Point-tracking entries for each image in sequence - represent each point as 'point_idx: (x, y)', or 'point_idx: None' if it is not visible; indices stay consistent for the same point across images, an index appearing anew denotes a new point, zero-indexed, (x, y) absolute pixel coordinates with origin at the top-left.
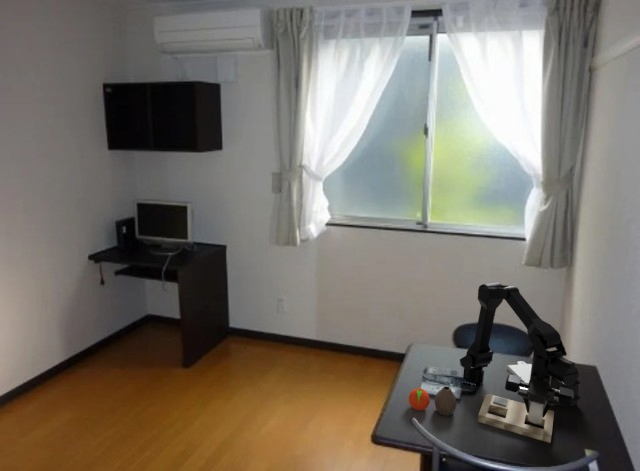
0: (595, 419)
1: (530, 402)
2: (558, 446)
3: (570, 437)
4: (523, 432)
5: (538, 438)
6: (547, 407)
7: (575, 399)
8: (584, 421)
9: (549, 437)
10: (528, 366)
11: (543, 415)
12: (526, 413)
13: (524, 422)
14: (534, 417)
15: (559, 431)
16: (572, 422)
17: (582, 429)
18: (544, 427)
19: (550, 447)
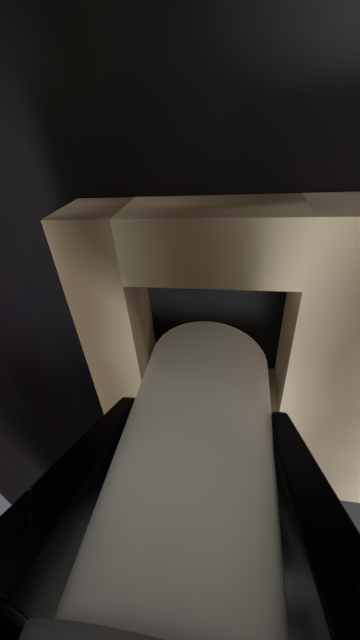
0: (5, 459)
1: (280, 589)
2: (19, 187)
3: (13, 323)
4: (297, 200)
5: (162, 199)
6: (13, 535)
7: None
8: (26, 443)
9: (65, 211)
10: None
11: (119, 411)
12: None
13: (285, 338)
14: (204, 366)
15: (77, 350)
16: (57, 427)
17: (6, 399)
18: (125, 313)
19: (56, 131)
